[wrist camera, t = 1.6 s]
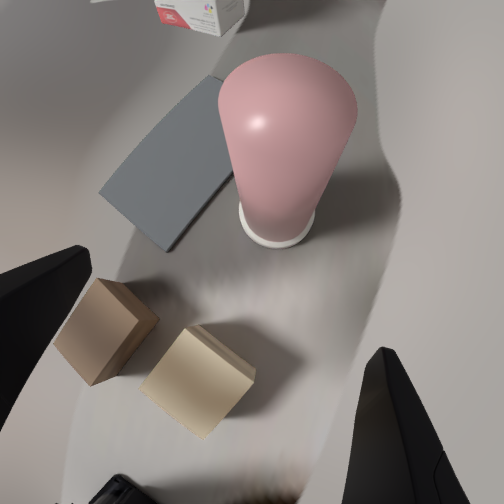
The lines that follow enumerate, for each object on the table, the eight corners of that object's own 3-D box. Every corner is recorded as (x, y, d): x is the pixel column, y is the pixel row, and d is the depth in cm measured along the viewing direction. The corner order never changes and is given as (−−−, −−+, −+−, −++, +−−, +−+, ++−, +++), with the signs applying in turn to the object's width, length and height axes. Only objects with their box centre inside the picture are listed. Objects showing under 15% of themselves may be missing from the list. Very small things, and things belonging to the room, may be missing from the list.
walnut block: (116, 375, 20) (90, 386, 16) (82, 340, 21) (53, 343, 17) (160, 318, 21) (138, 320, 17) (123, 283, 22) (96, 277, 18)
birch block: (213, 418, 20) (203, 440, 16) (159, 375, 20) (138, 388, 16) (256, 368, 20) (254, 382, 16) (199, 324, 21) (184, 328, 17)
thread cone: (284, 264, 21) (311, 201, 8) (225, 220, 22) (176, 114, 9) (326, 207, 22) (389, 96, 9) (269, 167, 23) (270, 32, 10)
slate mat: (167, 252, 22) (165, 251, 21) (100, 194, 23) (98, 192, 22) (282, 117, 23) (282, 114, 23) (209, 77, 24) (208, 74, 24)
